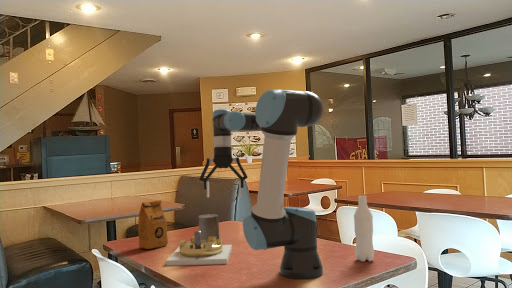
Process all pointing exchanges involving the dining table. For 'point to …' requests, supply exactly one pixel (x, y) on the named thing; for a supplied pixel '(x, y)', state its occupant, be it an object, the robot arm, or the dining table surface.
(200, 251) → the gold round notched piece
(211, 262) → the mount plate
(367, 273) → the dining table surface
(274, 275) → the dining table surface
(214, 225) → the pillar candle
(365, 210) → the water bottle
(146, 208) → the coffee package
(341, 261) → the dining table surface
